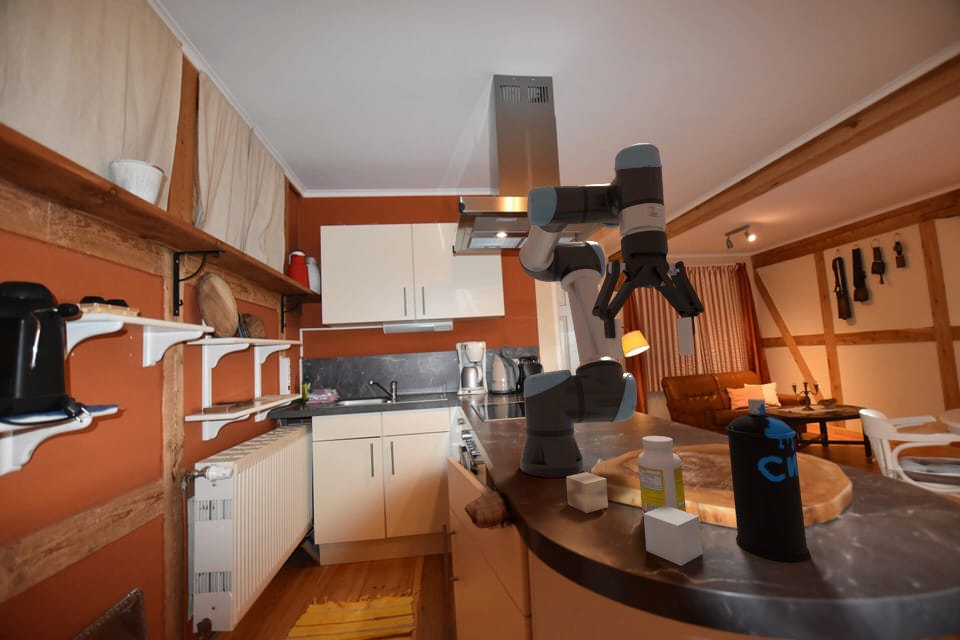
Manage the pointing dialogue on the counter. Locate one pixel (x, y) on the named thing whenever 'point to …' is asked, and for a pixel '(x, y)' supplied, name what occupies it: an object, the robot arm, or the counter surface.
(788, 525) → the aerosol can
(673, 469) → the supplement bottle
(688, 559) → the grey block
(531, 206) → the robot arm
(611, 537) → the counter surface
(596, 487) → the birch block
